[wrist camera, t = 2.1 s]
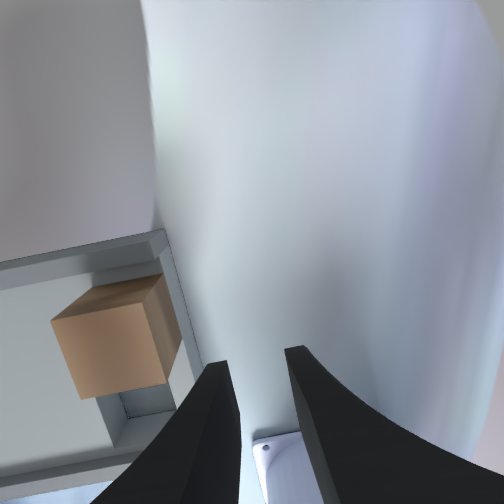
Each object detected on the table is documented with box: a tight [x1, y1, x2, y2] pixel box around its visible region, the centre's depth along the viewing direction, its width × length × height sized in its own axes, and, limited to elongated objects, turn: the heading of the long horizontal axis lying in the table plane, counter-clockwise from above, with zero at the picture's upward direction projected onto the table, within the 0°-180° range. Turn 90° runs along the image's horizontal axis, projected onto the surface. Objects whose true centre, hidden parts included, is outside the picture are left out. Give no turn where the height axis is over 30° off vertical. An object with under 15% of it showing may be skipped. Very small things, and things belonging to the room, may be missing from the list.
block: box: [50, 273, 182, 400], centre depth 16 cm, size 4×4×4 cm
